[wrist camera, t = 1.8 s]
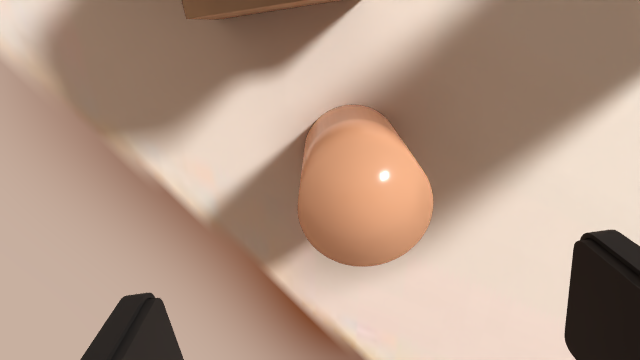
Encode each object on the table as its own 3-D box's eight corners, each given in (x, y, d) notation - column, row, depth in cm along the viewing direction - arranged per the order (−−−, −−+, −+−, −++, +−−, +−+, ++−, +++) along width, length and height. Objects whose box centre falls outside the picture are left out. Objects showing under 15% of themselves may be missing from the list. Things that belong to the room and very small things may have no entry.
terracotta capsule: (402, 188, 22) (436, 257, 16) (312, 200, 22) (308, 273, 16) (395, 97, 20) (430, 134, 14) (297, 112, 21) (286, 154, 14)
